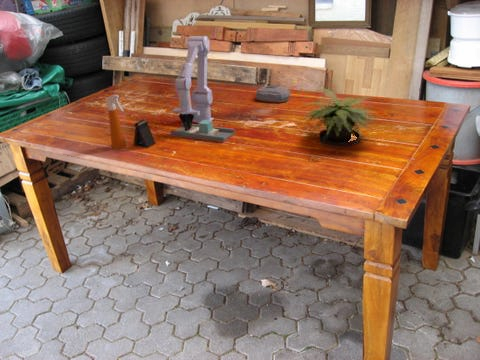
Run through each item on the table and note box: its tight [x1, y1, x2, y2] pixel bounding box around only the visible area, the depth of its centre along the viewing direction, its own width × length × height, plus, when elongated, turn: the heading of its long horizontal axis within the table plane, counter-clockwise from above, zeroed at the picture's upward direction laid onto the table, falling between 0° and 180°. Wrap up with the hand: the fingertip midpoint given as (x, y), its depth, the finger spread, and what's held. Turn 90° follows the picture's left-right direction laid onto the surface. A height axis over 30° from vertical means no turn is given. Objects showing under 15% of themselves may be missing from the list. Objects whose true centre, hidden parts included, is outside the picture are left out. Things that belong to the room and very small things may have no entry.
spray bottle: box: [104, 94, 128, 150], centre depth 213 cm, size 7×11×26 cm, turn 58°
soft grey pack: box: [255, 84, 291, 104], centre depth 269 cm, size 15×8×20 cm
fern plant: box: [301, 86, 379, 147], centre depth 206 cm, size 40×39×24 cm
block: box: [198, 120, 214, 134], centre depth 224 cm, size 5×5×5 cm
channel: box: [170, 122, 235, 143], centre depth 226 cm, size 30×12×2 cm, turn 65°
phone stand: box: [133, 118, 156, 149], centre depth 217 cm, size 9×6×12 cm, turn 59°
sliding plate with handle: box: [182, 121, 219, 135], centre depth 226 cm, size 17×9×5 cm, turn 65°
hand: (188, 127), depth 229 cm, fingers closed on sliding plate with handle, 2 cm apart
